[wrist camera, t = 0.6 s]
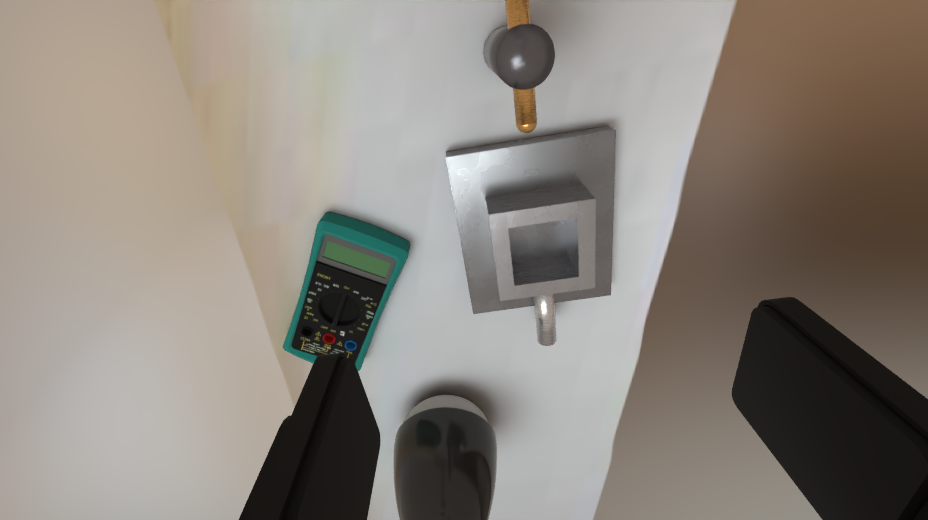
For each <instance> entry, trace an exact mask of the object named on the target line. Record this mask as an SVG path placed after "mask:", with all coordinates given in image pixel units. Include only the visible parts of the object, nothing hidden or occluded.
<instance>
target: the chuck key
mask: <svg viewBox="0 0 928 520" xmlns="http://www.w3.org/2000/svg"><path fill="white" fill-rule="evenodd" d="M505 2H506V14H507V25H508V26H505V27H500V28H497V29H495V30H494V31H492V32H491V33H490V34H489V36H488V37H487V39H486V41H485V44H484V49H483V54H484V59H485V62H486V64H487V65H488V67H489V68H490V69H491V70H492V71H493V72H495V73H496V74H497V75H498V76H499V77H500V78H501V79H502V80H503V81H504V82H505V83H506V84H507V85H509V86H510V87H512V88H513V94H514V105H515V117H516V126H517V128H518V130H519V131H521V132H523V133H529V132H531V131H533V130H534V129H535V127H536V124H537V117H536V101H535V87H536V86H538V85H539V84H541V83H542V82H543V81H544V80H545V79H546V78H547V77H548V75H549V74H550V72H551V70H552V67H553V64H554V58H555V51H554V45H553V42H552V40H551V38H550V36H549V35H548V33H547V32H546V31H545V30H543V29H542V28H540V27H539V26H536V25H533V24H531V22H530V6H529V0H505Z"/></svg>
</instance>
